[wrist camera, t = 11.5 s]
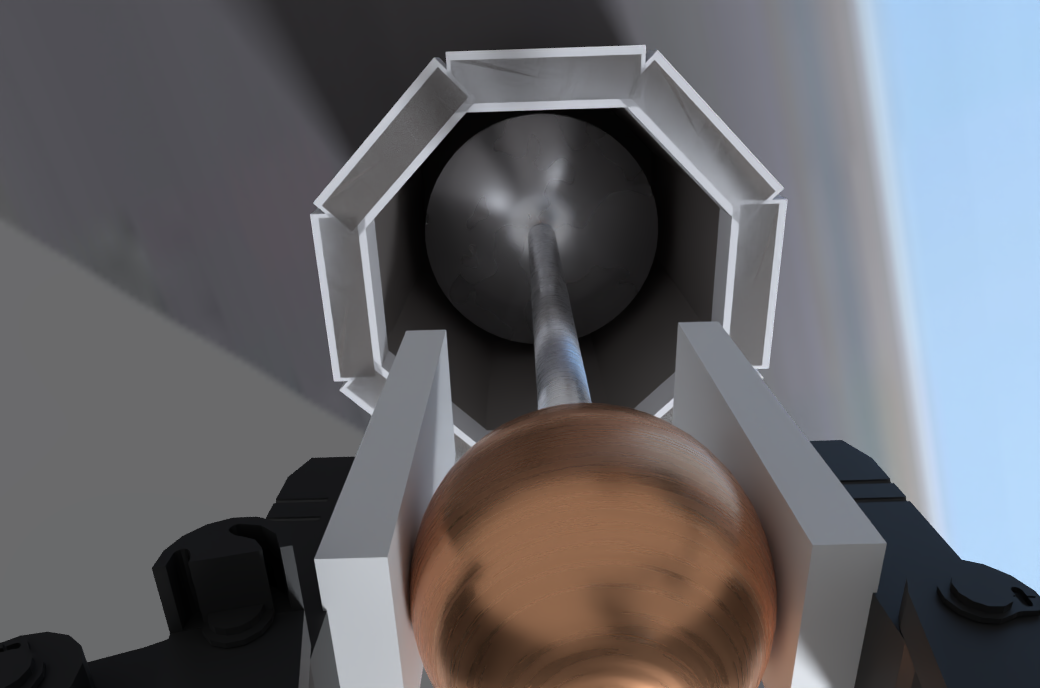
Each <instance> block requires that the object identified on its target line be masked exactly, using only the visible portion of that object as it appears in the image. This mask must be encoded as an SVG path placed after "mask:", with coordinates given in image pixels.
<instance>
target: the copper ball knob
mask: <svg viewBox="0 0 1040 688" xmlns="http://www.w3.org/2000/svg"><path fill="white" fill-rule="evenodd" d="M657 239H658V216H657V210H656V203H655V200H654V196H653V193H652V190H651V187H650V185H649V183H648V180H647V178H646V176H645V174H644V172H643V171H642V169H641V168H640V166H639V165H638V163H637V161H636V160H635V159H634V158H633V157H632V155H631V154H630V153H629V152H628V151H627V150H626V149H625V148H624V147H623V146H622V145H621V144H620V143H619V142H618V141H616V140H615V139H614V138H613V137H612V136H610V135H609V134H607V133H606V132H604V131H603V130H601V129H600V128H598V127H596V126H594V125H592V124H590V123H588V122H586V121H584V120H580V119H577V118H574V117H571V116H567V115H561V114H555V113H531V114H522V115H518V116H514V117H510V118H506V119H504V120H501V121H499V122H496V123H494V124H492V125H490V126H488V127H486V128H485V129H483V130H481V131H479V132H478V133H477V134H475V135H474V136H473V137H471V138H470V139H469V140H467V141H466V142H465V143H464V144H463V145H462V146H461V147H460V148H459V149H458V150H457V151H456V152H455V153H454V155H453V156H452V157H451V159H450V160H449V161H448V163H447V164H446V165H445V167H444V169H443V170H442V172H441V174H440V176H439V177H438V179H437V181H436V183H435V186H434V188H433V191H432V193H431V196H430V200H429V204H428V208H427V214H426V222H425V241H426V248H427V254H428V258H429V261H430V265H431V268H432V271H433V273H434V276H435V278H436V280H437V282H438V284H439V286H440V287H441V289H442V291H443V292H444V294H445V296H446V297H447V298H448V299H449V301H450V302H451V303H452V304H453V306H454V307H455V308H456V309H457V310H458V311H459V312H460V313H461V314H462V315H463V316H464V317H466V318H467V319H468V320H470V321H471V322H472V323H474V324H475V325H477V326H478V327H480V328H482V329H484V330H485V331H487V332H489V333H491V334H494V335H496V336H498V337H501V338H504V339H508V340H511V341H515V342H521V343H527V344H534V351H535V367H536V384H537V401H538V410H536V411H533V412H530V413H527V414H524V415H522V416H519V417H517V418H515V419H513V420H511V421H509V422H507V423H505V424H502V425H501V426H499V427H498V428H496V429H495V430H493V431H491V432H490V433H488V434H487V435H485V436H484V437H483V438H482V439H480V440H479V441H478V442H477V443H476V444H474V445H473V446H472V447H471V448H470V449H469V450H468V451H467V452H466V453H465V454H464V455H463V456H462V457H461V458H460V459H459V460H458V461H457V462H456V463H455V464H454V465H453V467H452V468H451V469H450V470H449V471H448V473H447V474H446V476H445V477H444V479H443V480H442V482H441V483H440V485H439V486H438V488H437V490H436V491H435V493H434V495H433V496H432V498H431V500H430V502H429V504H428V507H427V509H426V511H425V513H424V515H423V518H422V521H421V524H420V527H419V531H418V534H417V537H416V540H415V544H414V547H413V554H412V561H411V570H410V578H409V595H410V613H411V621H412V626H413V631H414V636H415V640H416V644H417V647H418V651H419V655H420V657H421V660H422V663H423V665H424V668H425V671H426V673H427V675H428V677H429V679H430V680H431V683H432V685H433V687H434V688H758V686H759V684H760V682H761V679H762V677H763V674H764V672H765V669H766V667H767V664H768V662H769V657H770V653H771V648H772V643H773V639H774V634H775V629H776V615H777V587H776V578H775V570H774V565H773V560H772V555H771V551H770V548H769V544H768V541H767V537H766V534H765V532H764V529H763V527H762V524H761V522H760V519H759V517H758V515H757V513H756V511H755V509H754V507H753V505H752V503H751V501H750V499H749V498H748V496H747V495H746V493H745V492H744V490H743V489H742V487H741V486H740V485H739V483H738V482H737V480H736V479H735V477H734V476H733V475H732V473H731V472H730V471H729V470H728V469H727V468H726V467H725V465H724V464H723V463H722V462H721V461H720V460H719V459H718V458H717V457H716V456H715V455H714V454H713V453H712V452H711V451H710V450H709V449H708V448H706V447H705V446H704V445H703V444H701V443H700V442H699V441H698V440H696V439H695V438H694V437H692V436H691V435H690V434H688V433H686V432H684V431H683V430H681V429H679V428H677V427H676V426H674V425H672V424H670V423H669V422H667V421H665V420H663V419H661V418H658V417H656V416H653V415H651V414H649V413H646V412H643V411H639V410H636V409H632V408H629V407H625V406H618V405H611V404H605V403H592V402H591V398H590V393H589V388H588V384H587V379H586V374H585V370H584V365H583V360H582V356H581V351H580V347H579V342H578V338H579V337H582V336H585V335H587V334H589V333H591V332H593V331H595V330H597V329H599V328H601V327H602V326H604V325H605V324H607V323H609V322H610V321H611V320H613V319H614V318H615V317H616V316H617V315H619V314H620V313H621V312H622V311H623V310H624V309H625V308H626V307H627V306H628V305H629V304H630V303H631V301H632V300H633V299H634V297H635V296H636V295H637V293H638V292H639V290H640V289H641V287H642V285H643V284H644V282H645V280H646V278H647V276H648V274H649V271H650V269H651V266H652V263H653V260H654V256H655V252H656V248H657Z"/></svg>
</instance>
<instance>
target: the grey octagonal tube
mask: <svg viewBox="0 0 1040 688" xmlns="http://www.w3.org/2000/svg"><path fill="white" fill-rule="evenodd" d="M531 113H555V114H561V115H567V116H571V117H574V118H577V119H580V120H584V121H586V122H588V123H590V124H592V125H594V126H596V127H598V128H600V129H601V130H603V131H604V132H606V133H607V134H609V135H610V136H612V137H613V138H614V139H615V140H616V141H618V142H619V143H620V144H621V145H622V146H623V147H624V148H625V149H626V150H627V151H628V152H629V153H630V154H631V155H632V157H633V158H634V159H635V160H636V161H637V163H638V165H639V166H640V168H641V169H642V171H643V172H644V174H645V176H646V178H647V180H648V183H649V185H650V187H651V190H652V193H653V196H654V200H655V203H656V210H657V216H658V239H657V248H656V252H655V256H654V260H653V263H652V266H651V269H650V271H649V274H648V276H647V278H646V280H645V282H644V284H643V285H642V287H641V289H640V290H639V292H638V293H637V295H636V296H635V297H634V299H633V300H632V301H631V303H630V304H629V305H628V306H627V307H626V308H625V309H624V310H623V311H622V312H621V313H620V314H619V315H617V316H616V317H615V318H614V319H613V320H611V321H610V322H609V323H607V324H605V325H604V326H602V327H601V328H599V329H597V330H595V331H593V332H591V333H589V334H587V335H585V336H582V337H579V338H578V342H579V347H580V351H581V356H582V360H583V365H584V370H585V374H586V379H587V384H588V388H589V393H590V398H591V402H592V403H605V404H611V405H618V406H625V407H629V408H632V409H636V410H639V411H643V412H646V413H649V414H651V415H653V416H656V417H658V418H661V419H663V420H665V421H667V422H669V423H670V424H672V420H673V402H674V385H675V367H676V349H677V332H678V323H679V322H713V321H718V322H719V323H720V324H721V326H722V327H723V328H724V330H725V331H726V332H727V333H728V335H729V336H730V337H731V339H732V340H733V341H734V343H735V344H736V345H737V347H738V348H739V349H740V351H741V352H742V353H743V355H744V356H745V357H746V358H747V360H748V361H749V362H750V364H751V365H752V366H753V368H754V369H755V370H756V372H757V373H758V374H759V376H760V377H761V378H762V379H763V376H762V375H761V374H760V373H759V371H758V370H757V369H769V362H770V353H771V344H772V335H773V326H774V317H775V308H776V299H777V290H778V281H779V272H780V263H781V254H782V245H783V236H784V227H785V218H786V209H787V200H788V199H786V198H784V197H782V196H780V195H778V194H779V193H780V192H781V191H782V190H783V189H784V188H783V186H782V185H781V184H780V183H779V182H778V181H777V180H776V179H775V178H774V177H773V176H772V174H771V173H770V172H769V171H768V170H767V169H766V168H765V167H764V166H763V165H762V164H761V162H760V161H759V160H758V159H757V158H756V157H755V156H754V155H753V154H752V153H751V151H750V150H749V149H748V148H747V147H746V146H745V145H744V144H743V143H742V142H741V141H740V139H739V138H738V137H737V136H736V135H735V134H734V133H733V132H732V131H731V130H730V128H729V127H728V126H727V125H726V124H725V123H724V122H723V121H722V120H721V119H720V118H719V116H718V115H717V114H716V113H715V112H714V111H713V110H712V109H711V108H710V107H709V106H708V104H707V103H706V102H705V101H704V100H703V99H702V98H701V97H700V96H699V95H698V93H697V92H696V91H695V90H694V89H693V88H692V87H691V86H690V85H689V84H688V83H687V81H686V80H685V79H684V78H683V77H682V76H681V75H680V74H679V73H678V72H677V70H676V69H675V68H674V67H673V66H672V65H671V64H670V63H669V62H668V61H667V60H666V58H665V57H664V56H663V55H662V54H661V53H660V52H659V51H658V50H649V51H648V52H647V53H646V45H632V46H602V47H572V48H542V49H511V50H481V51H451V52H446V64H445V63H444V62H443V61H442V60H441V59H440V58H439V57H434V58H433V59H432V61H431V62H430V63H429V64H428V65H427V67H426V68H425V69H424V70H423V71H422V73H421V74H420V75H419V76H418V77H417V79H416V80H415V81H414V82H413V83H412V85H411V86H410V87H409V88H408V89H407V91H406V92H405V93H404V94H403V95H402V97H401V98H400V99H399V100H398V101H397V103H396V104H395V105H394V106H393V108H392V109H391V110H390V111H389V112H388V114H387V115H386V116H385V117H384V118H383V120H382V121H381V122H380V123H379V124H378V126H377V127H376V128H375V129H374V130H373V132H372V133H371V134H370V135H369V136H368V138H367V139H366V140H365V141H364V142H363V144H362V145H361V146H360V147H359V148H358V150H357V151H356V152H355V153H354V155H353V156H352V157H351V158H350V159H349V161H348V162H347V163H346V164H345V165H344V167H343V168H342V169H341V170H340V171H339V173H338V174H337V175H336V176H335V177H334V179H333V180H332V181H331V182H330V183H329V185H328V186H327V187H326V188H325V189H324V191H323V192H322V193H321V194H320V195H319V197H318V198H317V199H316V200H315V202H314V204H315V205H316V206H317V207H318V209H316V210H315V211H314V212H313V213H311V214H310V217H311V224H312V231H313V238H314V245H315V252H316V259H317V266H318V273H319V280H320V287H321V294H322V301H323V308H324V315H325V322H326V329H327V336H328V343H329V350H330V357H331V364H332V371H333V378H334V381H344V383H343V385H342V386H341V388H340V391H341V392H342V393H344V394H345V395H346V396H347V397H349V398H350V399H351V400H353V401H354V402H355V403H356V404H358V405H359V406H360V407H362V408H363V409H364V410H365V411H367V412H368V413H369V414H371V415H372V414H373V412H374V409H375V407H376V404H377V402H378V399H379V397H380V394H381V392H382V389H383V387H384V384H385V382H386V380H387V377H388V375H389V372H390V370H391V367H392V365H393V362H394V360H395V357H396V355H397V352H398V350H399V347H400V345H401V342H402V340H403V337H404V335H405V332H406V331H416V330H446V334H447V348H448V361H449V374H450V388H451V401H452V414H453V428H454V441H455V454H456V455H455V461H454V464H455V463H456V462H457V461H458V460H459V459H460V458H461V457H462V456H463V455H464V454H465V453H466V452H467V451H468V450H469V449H470V448H471V447H472V446H473V445H474V444H476V443H477V442H478V441H479V440H480V439H482V438H483V437H484V436H485V435H487V434H488V433H490V432H491V431H493V430H495V429H496V428H498V427H499V426H501V425H502V424H505V423H507V422H509V421H511V420H513V419H515V418H517V417H519V416H522V415H524V414H527V413H530V412H533V411H536V410H538V401H537V384H536V367H535V351H534V344H527V343H521V342H515V341H511V340H508V339H504V338H501V337H498V336H496V335H494V334H491V333H489V332H487V331H485V330H484V329H482V328H480V327H478V326H477V325H475V324H474V323H472V322H471V321H470V320H468V319H467V318H466V317H464V316H463V315H462V314H461V313H460V312H459V311H458V310H457V309H456V308H455V307H454V306H453V304H452V303H451V302H450V301H449V299H448V298H447V297H446V296H445V294H444V292H443V291H442V289H441V287H440V286H439V284H438V282H437V280H436V278H435V276H434V273H433V271H432V268H431V265H430V261H429V258H428V254H427V248H426V241H425V222H426V214H427V208H428V204H429V200H430V196H431V193H432V191H433V188H434V186H435V183H436V181H437V179H438V177H439V176H440V174H441V172H442V170H443V169H444V167H445V165H446V164H447V163H448V161H449V160H450V159H451V157H452V156H453V155H454V153H455V152H456V151H457V150H458V149H459V148H460V147H461V146H462V145H463V144H464V143H465V142H466V141H467V140H469V139H470V138H471V137H473V136H474V135H475V134H477V133H478V132H479V131H481V130H483V129H485V128H486V127H488V126H490V125H492V124H494V123H496V122H499V121H501V120H504V119H506V118H510V117H514V116H518V115H522V114H531Z"/></svg>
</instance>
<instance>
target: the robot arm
mask: <svg viewBox="0 0 1040 688" xmlns="http://www.w3.org/2000/svg"><path fill="white" fill-rule="evenodd" d="M672 425H674V426H676V427H677V428H679V429H681V430H683V431H684V432H686V433H688V434H690V435H691V436H692V437H694V438H695V439H696V440H698V441H699V442H700V443H701V444H703V445H704V446H705V447H706V448H708V449H709V450H710V451H711V452H712V453H713V454H714V455H715V456H716V457H717V458H718V459H719V460H720V461H721V462H722V463H723V464H724V465H725V467H726V468H727V469H728V470H729V471H730V472H731V473H732V475H733V476H734V477H735V479H736V480H737V482H738V483H739V485H740V486H741V487H742V489H743V490H744V492H745V493H746V495H747V496H748V498H749V499H750V501H751V503H752V505H753V507H754V509H755V511H756V513H757V515H758V517H759V519H760V522H761V524H762V527H763V529H764V532H765V534H766V537H767V541H768V544H769V548H770V551H771V555H772V560H773V565H774V570H775V578H776V587H777V615H776V629H775V634H774V639H773V643H772V648H771V653H770V657H769V662H768V664H767V667H766V669H765V672H764V674H763V677H762V682H763V684H764V687H765V688H1040V596H1039V595H1038V594H1037V593H1036V592H1035V591H1034V590H1033V589H1031V588H1029V587H1028V586H1026V585H1025V584H1023V583H1022V582H1020V581H1019V580H1017V579H1016V578H1014V577H1012V576H1011V575H1008V574H1006V573H1004V572H1001V571H999V570H996V569H994V568H991V567H989V566H986V565H984V564H979V563H975V562H970V561H965V560H961V559H960V557H959V556H958V555H957V554H956V553H955V552H954V551H953V549H952V548H951V547H950V546H949V545H948V544H947V543H946V542H945V540H944V539H943V538H942V537H941V536H940V535H939V534H938V533H937V531H936V530H935V529H934V528H933V527H932V526H931V525H930V523H929V522H928V521H927V520H926V519H925V518H924V517H923V516H922V514H921V513H920V512H919V511H918V510H917V509H916V508H915V506H914V505H913V504H912V503H911V502H910V501H906V496H905V495H904V494H903V493H902V492H901V491H900V489H899V488H898V487H897V486H896V485H895V484H894V483H891V482H890V478H889V477H888V476H887V475H886V474H885V472H884V471H883V470H882V469H881V468H880V467H879V466H878V465H877V463H876V462H875V461H874V460H873V459H872V458H871V457H869V456H868V455H866V454H864V453H863V452H861V451H859V450H858V449H856V448H854V447H852V446H851V445H849V444H847V443H846V442H844V441H842V440H831V441H809V440H808V439H807V437H806V436H805V435H804V434H803V432H802V431H801V430H800V428H799V427H798V426H797V424H796V423H795V422H794V420H793V419H792V418H791V416H790V415H789V414H788V412H787V411H786V410H785V409H784V407H783V406H782V405H781V403H780V402H779V401H778V399H777V398H776V397H775V395H774V394H773V393H772V391H771V390H770V389H769V387H768V386H767V385H766V383H765V382H764V381H763V380H762V378H761V377H760V376H759V374H758V373H757V372H756V370H755V369H754V368H753V366H752V365H751V364H750V362H749V361H748V360H747V358H746V357H745V356H744V355H743V353H742V352H741V351H740V349H739V348H738V347H737V345H736V344H735V343H734V341H733V340H732V339H731V337H730V336H729V335H728V333H727V332H726V331H725V330H724V328H723V327H722V326H721V324H720V323H719V322H718V321H713V322H679V323H678V332H677V349H676V367H675V385H674V402H673V420H672ZM455 455H456V454H455V441H454V428H453V414H452V401H451V388H450V374H449V361H448V348H447V334H446V330H416V331H406V332H405V335H404V337H403V340H402V342H401V345H400V347H399V350H398V352H397V355H396V357H395V360H394V362H393V365H392V367H391V370H390V372H389V375H388V377H387V380H386V382H385V384H384V387H383V389H382V392H381V394H380V397H379V399H378V402H377V404H376V407H375V409H374V412H373V414H372V417H371V419H370V422H369V424H368V427H367V429H366V432H365V434H364V437H363V439H362V442H361V444H360V447H359V449H358V452H357V454H356V456H355V457H329V458H311V459H310V460H309V461H307V462H306V463H305V464H304V465H303V466H301V467H300V468H299V469H298V470H296V471H295V472H294V473H293V474H291V475H290V476H289V477H288V478H287V480H286V482H285V484H284V486H283V488H282V489H281V491H280V493H279V495H278V497H277V498H276V503H275V504H273V506H272V508H271V510H270V511H269V513H268V515H267V517H266V519H264V518H260V517H240V518H230V519H226V520H223V521H219V522H215V523H211V524H207V525H205V526H203V527H201V528H199V529H196V530H194V531H193V532H190V533H188V534H186V535H184V536H182V537H181V538H180V539H178V540H177V541H176V542H174V543H173V544H172V545H171V546H169V547H168V548H167V549H165V550H164V551H163V552H162V554H161V556H160V557H159V559H158V560H157V561H156V563H155V564H154V566H153V567H152V570H153V574H154V578H155V581H156V584H157V588H158V592H159V595H160V599H161V602H162V606H163V610H164V613H165V617H166V620H167V624H168V627H169V631H170V636H169V639H167V640H165V641H162V642H159V643H156V644H153V645H150V646H147V647H144V648H141V649H137V650H133V651H129V652H125V653H121V654H118V655H114V656H110V657H106V658H102V659H99V660H95V661H91V662H87V661H86V658H85V655H84V652H83V649H82V647H81V645H80V644H79V643H77V642H76V641H75V640H74V639H73V638H72V637H70V636H69V635H65V634H58V633H51V632H43V633H36V634H29V635H23V636H19V637H16V638H13V639H10V640H8V641H5V642H2V643H0V688H420V683H421V676H422V670H423V663H422V660H421V657H420V655H419V651H418V647H417V644H416V640H415V636H414V631H413V626H412V621H411V613H410V595H409V578H410V570H411V561H412V554H413V547H414V544H415V540H416V537H417V534H418V531H419V527H420V524H421V521H422V518H423V515H424V513H425V511H426V509H427V507H428V504H429V502H430V500H431V498H432V496H433V495H434V493H435V491H436V490H437V488H438V486H439V485H440V483H441V482H442V480H443V479H444V477H445V476H446V474H447V473H448V471H449V470H450V469H451V468H452V467H453V465H454V461H455Z"/></svg>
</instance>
